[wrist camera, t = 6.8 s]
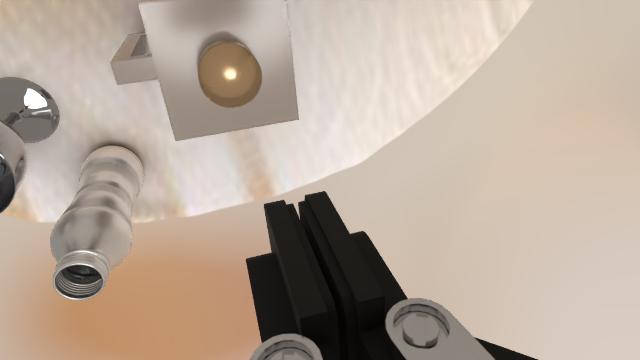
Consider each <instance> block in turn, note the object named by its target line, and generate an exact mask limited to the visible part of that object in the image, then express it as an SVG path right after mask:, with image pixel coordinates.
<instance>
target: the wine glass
mask: <svg viewBox="0 0 640 360" xmlns="http://www.w3.org/2000/svg"><path fill="white" fill-rule="evenodd" d="M58 123H59V110H58V107H57V105H56V103H55V101H54V100H53V98H52V97H51V95H50V94H49V93H48V92H47V91H45V90H44V89H43V88H41V87H40V86H38V85H37V84H35V83H33V82H30V81H28V80H25V79H21V78H13V77H7V78H0V213H2V212H3V211H4V210H5V209H6V208H7V207H8V206H9V205H10V203H11V202H12V200H13V199H14V198H15V196H16V195H17V193H18V191H19V190H20V188H21V186H22V184H23V181H24V179H25V175H26V172H27V167H28V151H27V147H26V144H25V143H34V142H39V141H42V140H44V139H46V138H48V137H49V136H51V135H52V134H53V133H54V131H55V130H56V128H57V126H58Z"/></svg>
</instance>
